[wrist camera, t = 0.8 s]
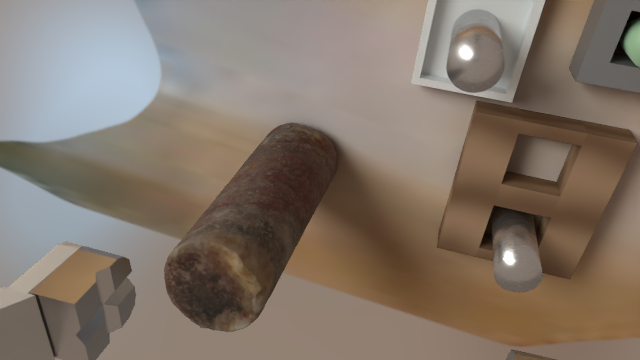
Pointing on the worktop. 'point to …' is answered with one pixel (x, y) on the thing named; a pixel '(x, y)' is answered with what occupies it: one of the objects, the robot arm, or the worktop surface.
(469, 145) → the wooden holder frame
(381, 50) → the worktop surface
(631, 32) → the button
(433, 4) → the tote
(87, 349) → the robot arm
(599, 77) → the grey square holed block
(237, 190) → the brown rounded piece
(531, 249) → the seated billet
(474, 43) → the cylinder
